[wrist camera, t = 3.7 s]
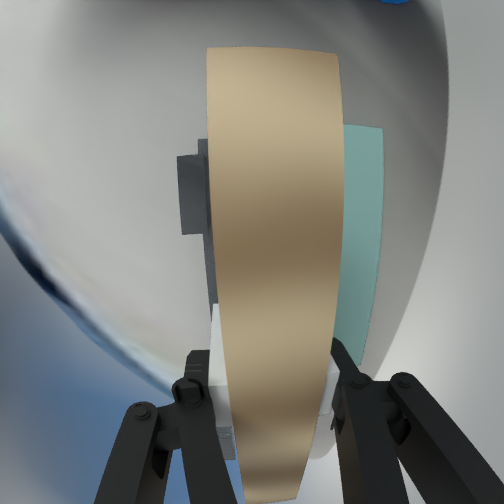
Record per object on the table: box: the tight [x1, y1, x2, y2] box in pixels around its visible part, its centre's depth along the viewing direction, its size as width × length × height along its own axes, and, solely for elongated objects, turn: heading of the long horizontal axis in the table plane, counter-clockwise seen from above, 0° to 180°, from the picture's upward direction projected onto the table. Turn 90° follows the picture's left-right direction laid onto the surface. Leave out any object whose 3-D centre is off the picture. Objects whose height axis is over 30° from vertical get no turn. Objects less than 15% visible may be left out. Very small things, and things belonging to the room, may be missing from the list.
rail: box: [207, 47, 344, 504], centre depth 11 cm, size 24×4×4 cm, turn 2°
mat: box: [333, 124, 384, 366], centre depth 25 cm, size 26×7×1 cm, turn 2°
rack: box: [177, 139, 235, 460], centre depth 19 cm, size 23×7×13 cm, turn 2°
